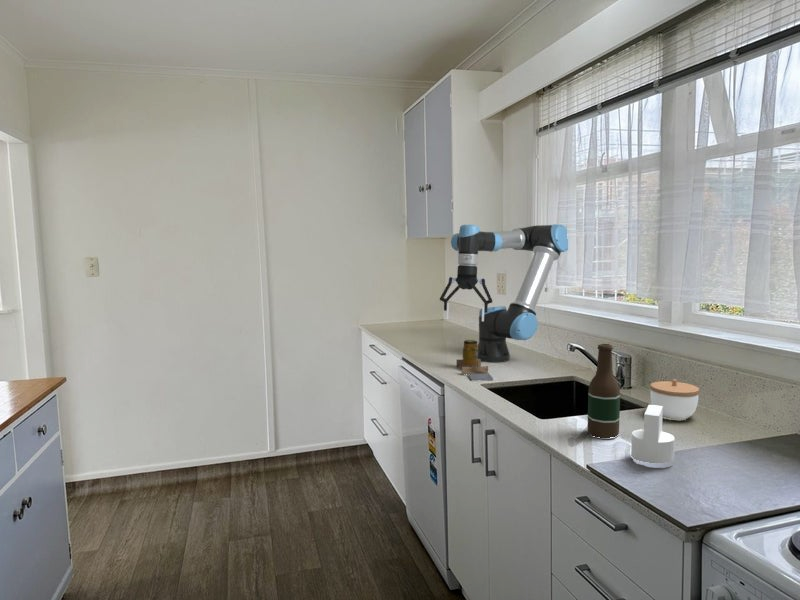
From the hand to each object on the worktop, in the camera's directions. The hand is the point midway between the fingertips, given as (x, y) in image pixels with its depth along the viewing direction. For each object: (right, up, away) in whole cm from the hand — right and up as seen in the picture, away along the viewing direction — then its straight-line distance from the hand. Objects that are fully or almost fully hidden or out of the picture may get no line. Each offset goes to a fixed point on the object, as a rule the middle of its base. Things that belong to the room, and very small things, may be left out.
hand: (465, 320), depth 215 cm
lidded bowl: (+54, -26, -55) cm, 81 cm away
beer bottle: (+28, -28, -69) cm, 80 cm away
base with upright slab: (+33, -29, -87) cm, 98 cm away
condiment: (+4, -21, +7) cm, 22 cm away
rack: (+4, -20, +7) cm, 22 cm away
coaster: (+5, -22, -6) cm, 23 cm away
